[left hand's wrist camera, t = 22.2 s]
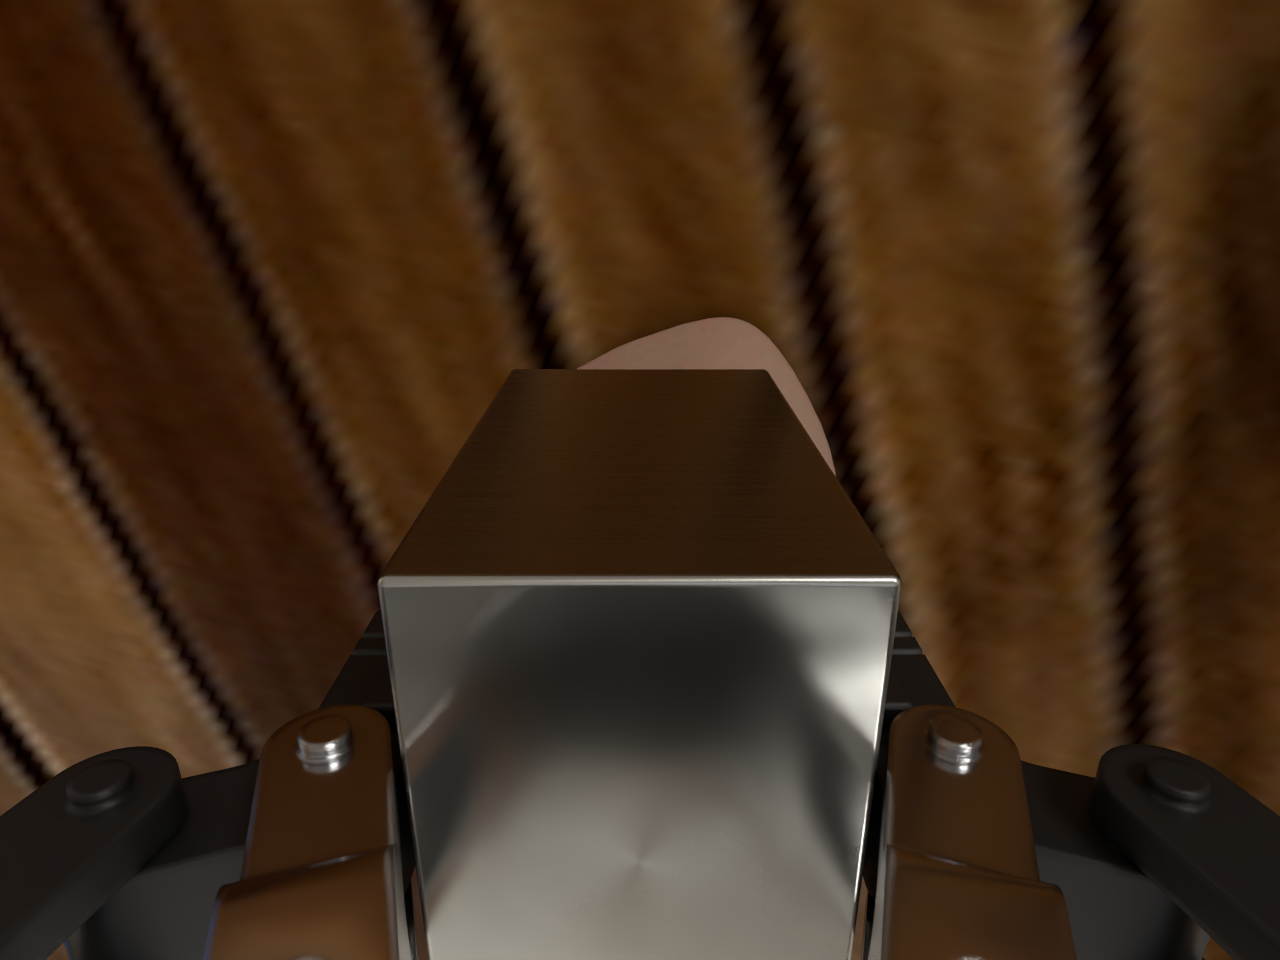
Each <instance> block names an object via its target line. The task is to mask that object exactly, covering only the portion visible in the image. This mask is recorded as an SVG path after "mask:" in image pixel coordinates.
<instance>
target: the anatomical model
mask: <svg viewBox="0 0 1280 960" xmlns="http://www.w3.org/2000/svg"><path fill="white" fill-rule="evenodd" d="M577 369H764V370H767V371H768V373H769V374H770V376H771V377H772V379H773V380H774V382H775V383H776V385H777V386H778V388H779V390H780V391H781V393H782V394H783V396H784V397H785V399H786V400H787V402H788V404H789V405H790V407H791V408H792V410H793V411H794V413H795V414H796V416H797V417H798V419H799V421H800V422H801V424H802V425H803V427H804V428H805V430H806V431H807V433H808V435H809V436H810V438H811V439H812V441H813V442H814V444H815V445H816V447H817V448H818V450H819V452H820V453H821V455H822V456H823V458H824V459H825V461H826V462H827V464H828V466H829V467H830V469H831V470H832V472H833V473H834V475H835V476H836V474H835V469H834V465H833V460H832V456H831V452H830V448H829V445H828V442H827V439H826V437H825V434H824V431H823V428H822V426H821V423H820V421H819V419H818V417H817V415H816V413H815V411H814V408H813V406H812V404H811V402H810V400H809V398H808V396H807V394H806V392H805V391H804V389H803V387H802V385H801V384H800V382H799V380H798V378H797V377H796V375H795V373H794V371H793V370H792V368H791V367H790V365H789V364H788V362H787V361H786V360H785V358H784V357H783V355H782V354H781V353H780V351H779V350H778V349H777V347H776V346H775V345H774V344H773V343H772V341H771V340H770V339H769V338H768V337H767V336H766V335H765V334H764V333H762V332H761V331H760V330H759V329H757V328H756V327H755V326H753V325H751V324H749V323H748V322H745V321H743V320H740V319H735V318H728V317H718V318H708V319H703V320H699V321H694V322H690V323H685V324H682V325H679V326H676V327H673V328H670V329H667V330H664V331H661V332H658V333H655V334H652V335H649V336H646V337H643V338H640V339H637V340H634V341H632V342H629V343H627V344H624V345H622V346H619V347H617V348H615V349H613V350H611V351H609V352H607V353H605V354H603V355H601V356H600V357H598V358H596V359H594V360H592V361H590V362H588V363H586V364H584V365H583V366H581V367H579V368H577Z"/></svg>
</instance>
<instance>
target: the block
mask: <svg viewBox="0 0 1280 960" xmlns="http://www.w3.org/2000/svg"><path fill="white" fill-rule="evenodd" d="M377 584H378V591H379V598H380V606H381V613H382V621H383V628H384V635H385V643H386V650H387V657H388V665H389V672H390V679H391V687H392V694H393V701H394V709H395V716H396V724H397V731H398V738H399V746H400V753H401V760H402V768H403V775H404V782H405V790H406V797H407V805H408V812H409V819H410V827H411V834H412V841H413V849H414V856H415V863H416V871H417V878H418V886H419V893H420V900H421V908H422V915H423V922H424V930H425V937H426V944H427V952H428V959H429V960H851V956H852V948H853V941H854V934H855V926H856V919H857V911H858V904H859V896H860V889H861V882H862V874H863V867H864V859H865V852H866V844H867V837H868V830H869V822H870V815H871V807H872V800H873V792H874V785H875V777H876V770H877V763H878V755H879V748H880V740H881V733H882V725H883V718H884V711H885V703H886V696H887V688H888V681H889V673H890V666H891V659H892V651H893V644H894V636H895V629H896V621H897V614H898V607H899V599H900V592H901V584H902V582H901V579H900V576H899V574H898V572H897V571H896V569H895V568H894V566H893V565H892V563H891V562H890V560H889V559H888V557H887V555H886V554H885V552H884V551H883V549H882V548H881V546H880V545H879V543H878V541H877V540H876V538H875V537H874V535H873V534H872V532H871V531H870V529H869V528H868V526H867V524H866V523H865V521H864V520H863V518H862V517H861V515H860V514H859V512H858V510H857V509H856V507H855V506H854V504H853V503H852V501H851V500H850V498H849V497H848V495H847V493H846V492H845V490H844V489H843V487H842V486H841V484H840V483H839V481H838V479H837V478H836V476H835V475H834V473H833V472H832V470H831V469H830V467H829V466H828V464H827V462H826V461H825V459H824V458H823V456H822V455H821V453H820V452H819V450H818V448H817V447H816V445H815V444H814V442H813V441H812V439H811V438H810V436H809V435H808V433H807V431H806V430H805V428H804V427H803V425H802V424H801V422H800V421H799V419H798V417H797V416H796V414H795V413H794V411H793V410H792V408H791V407H790V405H789V404H788V402H787V400H786V399H785V397H784V396H783V394H782V393H781V391H780V390H779V388H778V386H777V385H776V383H775V382H774V380H773V379H772V377H771V376H770V374H769V373H768V371H767V370H764V369H515V370H513V371H511V373H510V374H509V376H508V377H507V379H506V380H505V382H504V384H503V385H502V387H501V388H500V390H499V391H498V393H497V394H496V396H495V398H494V399H493V401H492V402H491V404H490V405H489V407H488V408H487V410H486V411H485V413H484V415H483V416H482V418H481V419H480V421H479V422H478V424H477V425H476V427H475V429H474V430H473V432H472V433H471V435H470V436H469V438H468V439H467V441H466V443H465V444H464V446H463V447H462V449H461V450H460V452H459V453H458V455H457V457H456V458H455V460H454V461H453V463H452V464H451V466H450V467H449V469H448V470H447V472H446V474H445V475H444V477H443V478H442V480H441V481H440V483H439V484H438V486H437V488H436V489H435V491H434V492H433V494H432V495H431V497H430V498H429V500H428V502H427V503H426V505H425V506H424V508H423V509H422V511H421V512H420V514H419V516H418V517H417V519H416V520H415V522H414V523H413V525H412V526H411V528H410V529H409V531H408V533H407V534H406V536H405V537H404V539H403V540H402V542H401V543H400V545H399V547H398V548H397V550H396V551H395V553H394V554H393V556H392V557H391V559H390V561H389V562H388V564H387V565H386V567H385V568H384V570H383V571H382V573H381V575H380V576H379V579H378V582H377Z"/></svg>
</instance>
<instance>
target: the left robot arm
mask: <svg viewBox="0 0 1280 960" xmlns="http://www.w3.org/2000/svg"><path fill="white" fill-rule="evenodd" d="M415 864H416V863H415V856H414V849H413V841H412V834H411V827H410V819H409V812H408V805H407V797H406V790H405V782H404V775H403V768H402V760H401V753H400V746H399V738H398V731H397V724H396V716H395V709H394V701H393V694H392V687H391V679H390V672H389V665H388V657H387V650H386V643H385V635H384V628H383V621H382V613H381V610H379V611H378V612H376V613H375V615H374V617H373V618H372V620H371V622H370V623H369V625H368V627H367V628H366V630H365V632H364V633H363V638H360V640H359V642H358V643H357V645H356V647H355V649H354V650H353V655H350V657H349V659H348V660H347V662H346V664H345V665H344V667H343V669H342V670H341V672H340V674H339V675H338V677H337V679H336V680H335V682H334V684H333V685H332V687H331V689H330V690H329V692H328V694H327V695H326V697H325V699H324V700H323V702H322V704H321V705H320V707H319V709H316V710H313V711H310V712H308V713H305V714H303V715H301V716H298V717H296V718H295V719H293V720H291V721H289V722H287V723H286V724H285V725H283V726H282V727H280V728H279V729H278V730H277V731H276V732H275V733H274V734H272V736H271V737H270V738H269V739H268V740H267V742H266V743H265V745H264V747H263V749H262V751H261V755H260V759H259V760H256V761H253V762H250V763H247V764H244V765H240V766H236V767H233V768H228V769H223V770H219V771H214V772H210V773H205V774H200V775H196V776H191V777H187V778H181V774H180V771H179V767H178V764H177V761H176V759H175V758H174V757H173V756H172V755H171V754H170V753H168V752H167V751H165V750H162V749H159V748H154V747H128V748H121V749H116V750H112V751H108V752H105V753H101V754H98V755H96V756H93V757H90V758H88V759H85V760H83V761H81V762H79V763H77V764H74V765H73V766H71V767H69V768H67V769H65V770H64V771H62V772H61V773H59V774H58V775H56V776H55V777H53V778H52V779H50V780H49V781H47V782H46V783H45V784H43V785H42V786H41V787H39V788H38V789H37V790H35V791H34V792H33V793H31V794H30V795H29V796H27V797H26V798H24V799H23V800H22V801H20V802H19V803H18V804H16V805H15V806H14V807H12V808H11V809H10V810H8V811H7V812H5V813H4V814H3V815H1V816H0V960H46V959H47V958H48V957H49V956H50V955H51V954H52V953H53V952H54V951H55V950H56V949H57V948H58V947H59V946H60V945H61V944H62V943H63V942H64V944H65V947H66V950H67V952H68V955H69V958H70V960H419V953H418V941H417V928H416V916H415V904H414V897H413V890H412V883H411V877H412V874H413V871H414V867H415ZM863 878H864V881H865V884H866V887H867V889H868V890H867V897H866V904H865V915H864V928H863V940H862V953H861V960H1205V959H1204V958H1203V955H1204V952H1205V949H1206V946H1207V943H1208V941H1209V938H1210V937H1211V938H1212V939H1213V940H1215V941H1216V942H1217V943H1218V944H1219V945H1220V946H1221V947H1222V948H1223V949H1224V950H1225V951H1226V952H1227V953H1228V954H1229V955H1230V956H1231V957H1232V958H1233V959H1234V960H1280V816H1279V815H1277V814H1276V813H1274V812H1273V811H1272V810H1270V809H1269V808H1268V807H1266V806H1265V805H1264V804H1262V803H1261V802H1260V801H1258V800H1257V799H1256V798H1254V797H1253V796H1251V795H1250V794H1249V793H1247V792H1246V791H1245V790H1243V789H1242V788H1241V787H1239V786H1238V785H1237V784H1235V783H1234V782H1232V781H1231V780H1230V779H1228V778H1227V777H1226V776H1224V775H1223V774H1221V773H1220V772H1218V771H1217V770H1215V769H1214V768H1212V767H1210V766H1208V765H1207V764H1205V763H1203V762H1201V761H1199V760H1197V759H1194V758H1192V757H1190V756H1187V755H1185V754H1182V753H1179V752H1177V751H1173V750H1170V749H1166V748H1162V747H1157V746H1152V745H1142V744H1129V745H1122V746H1118V747H1115V748H1112V749H1110V750H1108V751H1107V752H1106V753H1105V754H1104V755H1103V756H1102V757H1101V759H1100V762H1099V765H1098V769H1097V773H1096V777H1095V778H1093V777H1088V776H1084V775H1079V774H1075V773H1070V772H1065V771H1061V770H1056V769H1052V768H1047V767H1042V766H1038V765H1035V764H1031V763H1027V762H1024V761H1021V760H1020V755H1019V751H1018V749H1017V747H1016V745H1015V743H1014V742H1013V740H1012V739H1011V738H1010V737H1009V736H1008V734H1006V733H1005V732H1004V731H1003V730H1002V729H1001V728H1000V727H998V726H997V725H995V724H994V723H993V722H991V721H989V720H987V719H985V718H984V717H982V716H979V715H977V714H975V713H972V712H969V711H966V710H963V709H960V708H956V707H955V705H954V704H953V702H952V700H951V699H950V697H949V695H948V694H947V692H946V690H945V688H944V687H943V685H942V683H941V682H940V680H939V678H938V677H937V675H936V673H935V671H934V670H933V668H932V666H931V665H930V663H929V661H928V660H927V658H926V656H925V655H922V649H921V648H920V646H919V644H918V643H917V641H916V639H915V637H912V632H911V631H910V629H909V627H908V626H907V624H906V622H905V620H904V619H903V617H902V615H901V614H900V612H899V611H898V614H897V621H896V629H895V636H894V644H893V651H892V659H891V666H890V673H889V681H888V688H887V696H886V703H885V711H884V718H883V725H882V733H881V740H880V748H879V755H878V763H877V770H876V777H875V785H874V792H873V800H872V807H871V815H870V822H869V830H868V837H867V844H866V852H865V859H864V867H863Z"/></svg>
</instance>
